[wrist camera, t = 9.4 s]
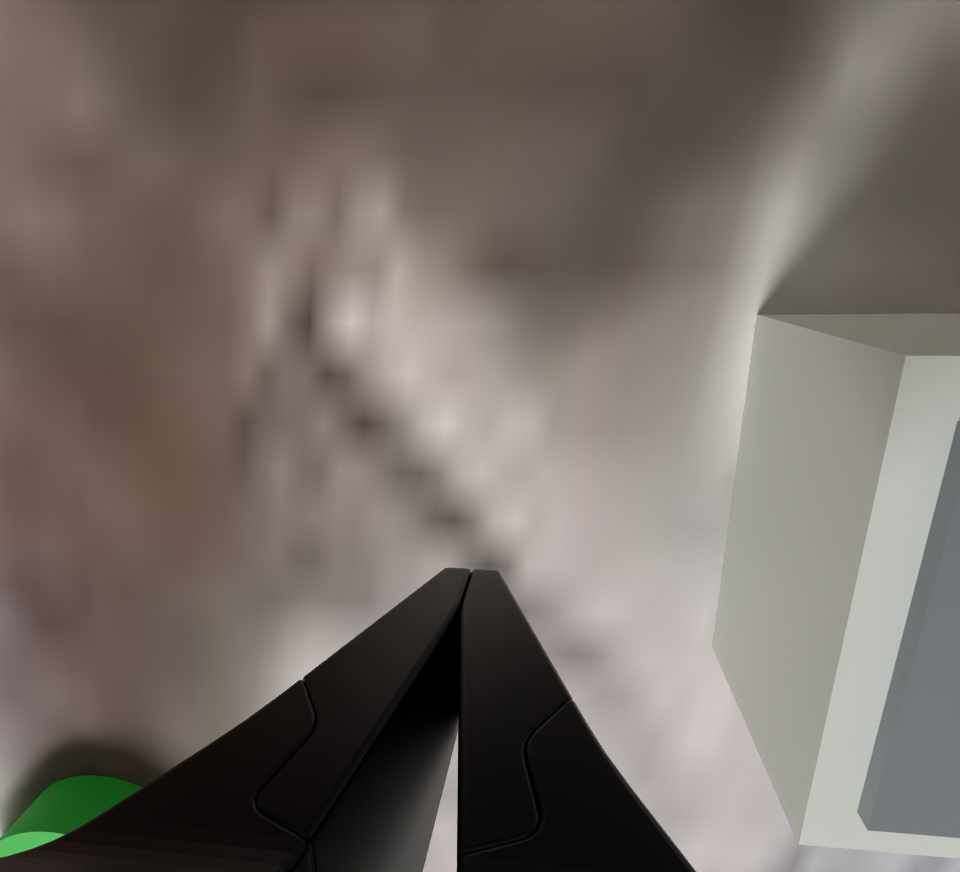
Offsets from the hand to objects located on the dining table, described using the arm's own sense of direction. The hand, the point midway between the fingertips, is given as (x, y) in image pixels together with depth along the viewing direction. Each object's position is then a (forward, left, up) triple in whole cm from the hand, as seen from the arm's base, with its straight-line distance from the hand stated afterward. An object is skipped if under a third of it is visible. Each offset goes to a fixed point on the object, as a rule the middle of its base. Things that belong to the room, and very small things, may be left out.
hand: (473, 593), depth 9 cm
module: (-8, 0, -4) cm, 9 cm away
